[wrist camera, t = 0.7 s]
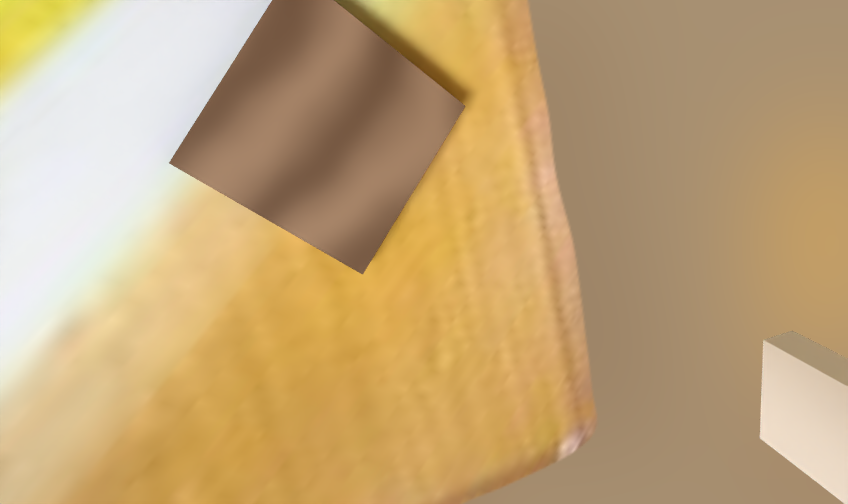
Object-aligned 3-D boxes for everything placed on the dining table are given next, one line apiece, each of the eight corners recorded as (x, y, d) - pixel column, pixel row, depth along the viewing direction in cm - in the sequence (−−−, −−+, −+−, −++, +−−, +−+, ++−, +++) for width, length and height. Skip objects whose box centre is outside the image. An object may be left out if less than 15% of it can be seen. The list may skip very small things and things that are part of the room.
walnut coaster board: (171, 162, 30) (169, 162, 29) (289, -25, 31) (293, -33, 29) (356, 269, 35) (362, 274, 34) (456, 107, 36) (465, 105, 35)
